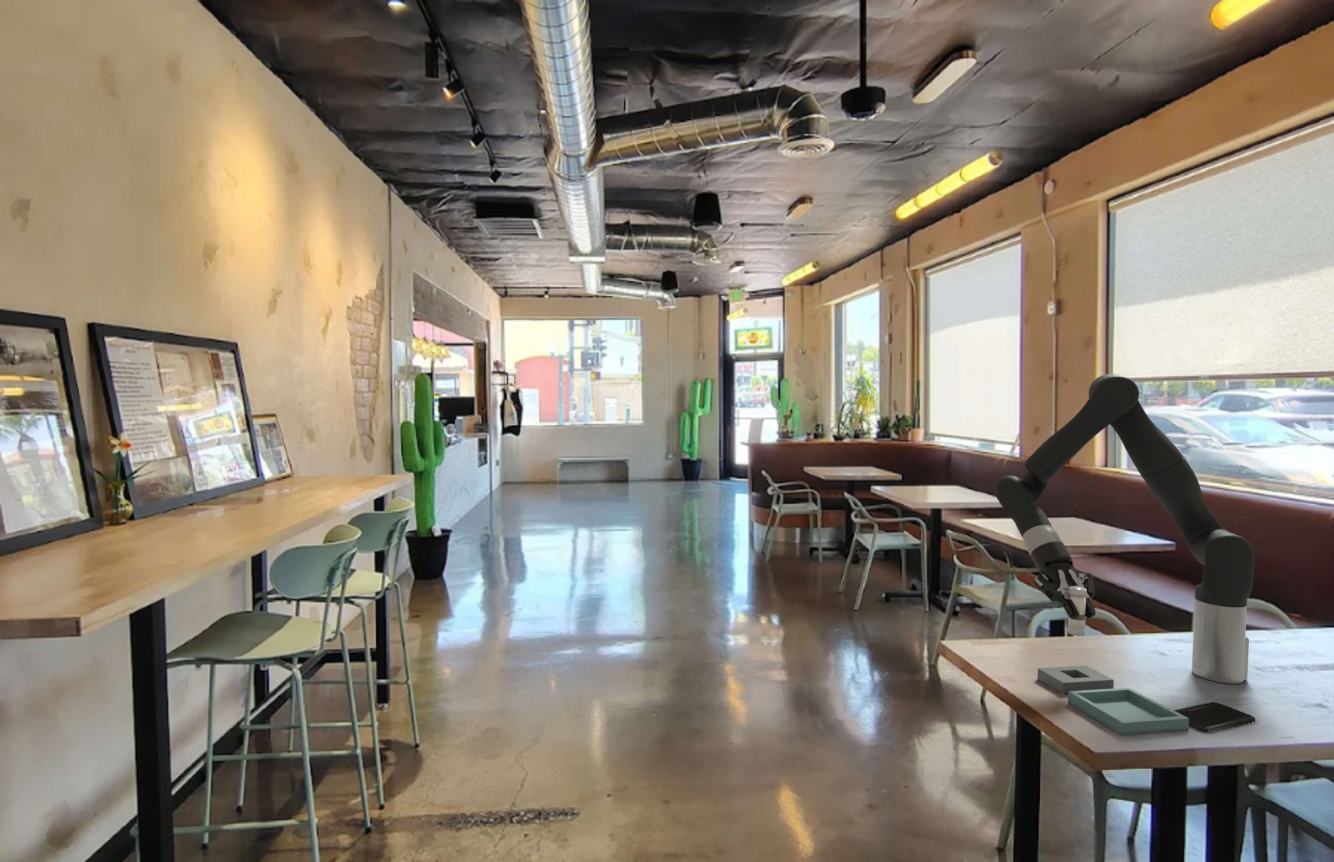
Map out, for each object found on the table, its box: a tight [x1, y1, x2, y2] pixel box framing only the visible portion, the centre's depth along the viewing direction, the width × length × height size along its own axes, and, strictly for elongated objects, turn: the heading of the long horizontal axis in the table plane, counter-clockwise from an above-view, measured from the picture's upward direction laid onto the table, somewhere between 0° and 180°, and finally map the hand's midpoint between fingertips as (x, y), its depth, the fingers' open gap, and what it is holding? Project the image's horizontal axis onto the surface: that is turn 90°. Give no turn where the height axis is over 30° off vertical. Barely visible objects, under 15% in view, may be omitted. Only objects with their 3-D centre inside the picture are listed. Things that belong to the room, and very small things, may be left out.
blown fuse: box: [1066, 586, 1087, 637], centre depth 150 cm, size 3×3×10 cm
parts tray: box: [1067, 687, 1190, 737], centre depth 136 cm, size 14×14×2 cm
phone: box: [1173, 701, 1256, 733], centre depth 135 cm, size 8×1×15 cm
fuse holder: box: [1037, 665, 1115, 695], centre depth 150 cm, size 12×8×2 cm, turn 98°
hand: (1083, 616), depth 148 cm, fingers closed on blown fuse, 3 cm apart
